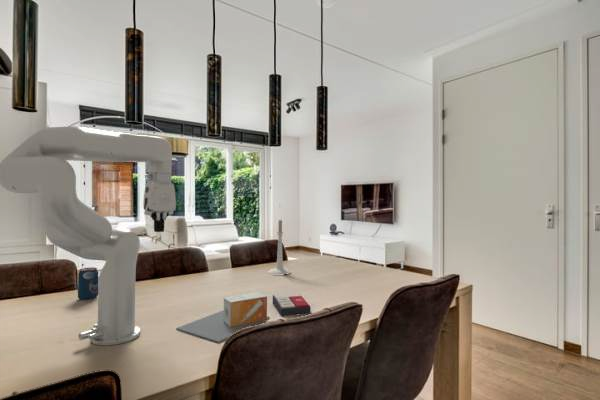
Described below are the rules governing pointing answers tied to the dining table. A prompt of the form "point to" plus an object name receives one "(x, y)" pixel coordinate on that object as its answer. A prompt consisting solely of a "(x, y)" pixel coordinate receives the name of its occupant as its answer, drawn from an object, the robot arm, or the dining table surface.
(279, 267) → the candlestick
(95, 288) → the soda can
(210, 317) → the mat
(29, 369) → the dining table surface
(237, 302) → the small box
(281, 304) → the flat red grey box
